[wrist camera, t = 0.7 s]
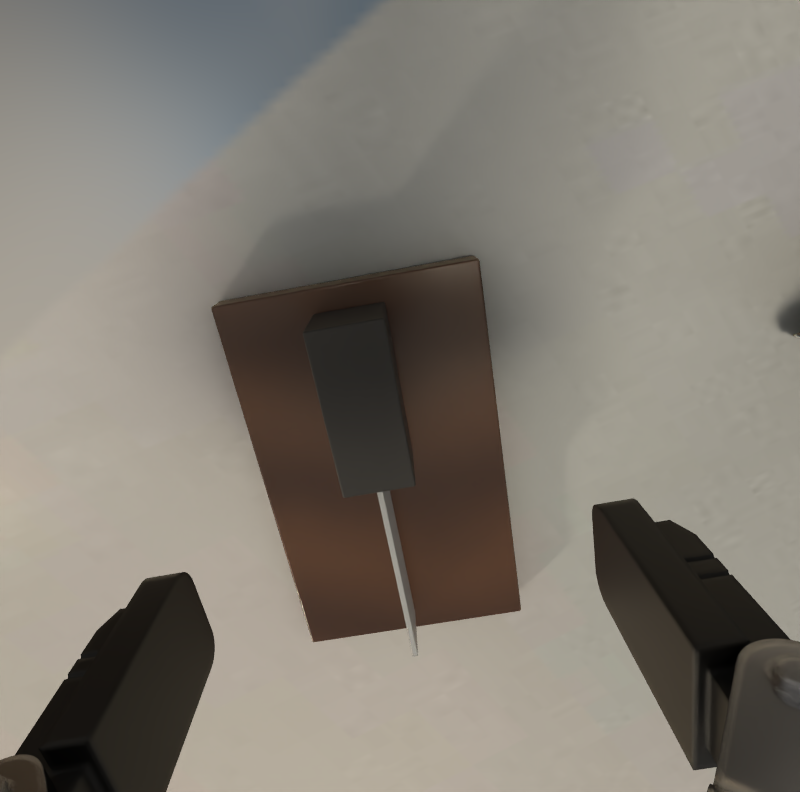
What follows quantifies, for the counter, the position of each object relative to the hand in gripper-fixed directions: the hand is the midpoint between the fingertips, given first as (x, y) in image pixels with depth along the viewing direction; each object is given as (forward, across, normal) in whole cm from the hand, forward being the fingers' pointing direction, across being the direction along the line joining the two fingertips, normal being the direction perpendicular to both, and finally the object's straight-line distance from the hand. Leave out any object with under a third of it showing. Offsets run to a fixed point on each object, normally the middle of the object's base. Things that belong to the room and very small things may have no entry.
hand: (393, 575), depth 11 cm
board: (+15, +1, +5) cm, 16 cm away
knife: (+13, +1, +5) cm, 14 cm away
